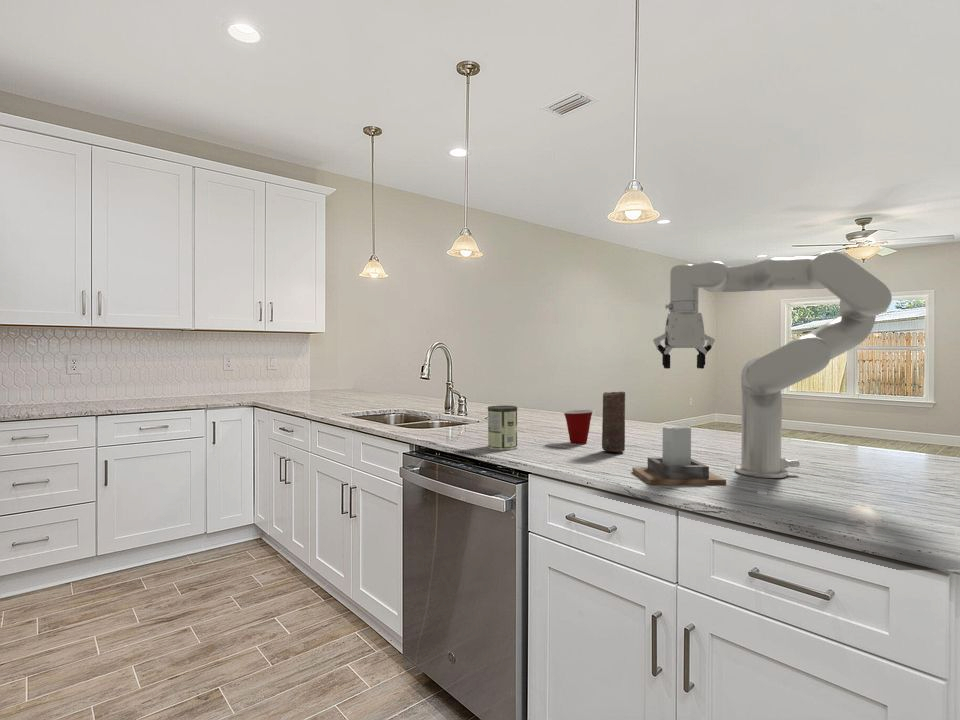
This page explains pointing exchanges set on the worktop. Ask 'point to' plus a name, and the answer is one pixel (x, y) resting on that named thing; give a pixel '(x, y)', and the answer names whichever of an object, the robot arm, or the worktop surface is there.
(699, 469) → the holder
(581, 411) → the plastic cup
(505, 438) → the coffee can
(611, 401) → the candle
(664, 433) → the skincare box
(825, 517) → the worktop surface
